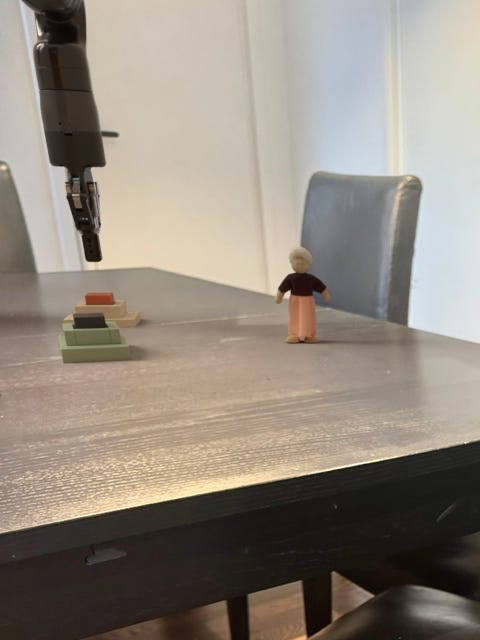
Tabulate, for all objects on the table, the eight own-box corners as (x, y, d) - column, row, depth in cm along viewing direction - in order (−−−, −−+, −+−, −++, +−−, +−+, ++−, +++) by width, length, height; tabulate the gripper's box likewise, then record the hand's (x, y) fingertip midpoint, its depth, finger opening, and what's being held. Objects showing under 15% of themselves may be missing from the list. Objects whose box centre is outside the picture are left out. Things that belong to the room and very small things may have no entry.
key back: (86, 307, 137) (84, 295, 136) (90, 304, 140) (88, 292, 140) (111, 307, 138) (109, 295, 137) (114, 304, 141) (113, 292, 140)
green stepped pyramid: (59, 348, 122) (55, 320, 120) (123, 345, 125) (119, 318, 123) (63, 363, 113) (58, 333, 111) (131, 359, 116) (127, 331, 114)
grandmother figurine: (282, 344, 128) (275, 247, 122) (276, 340, 131) (269, 244, 125) (335, 342, 131) (331, 246, 125) (328, 338, 134) (323, 244, 128)
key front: (74, 327, 118) (72, 313, 117) (104, 326, 119) (102, 312, 119) (76, 332, 115) (74, 317, 114) (106, 330, 116) (104, 316, 116)
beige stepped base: (64, 328, 136) (60, 306, 135) (73, 320, 143) (70, 299, 141) (134, 327, 138) (131, 306, 136) (140, 319, 145) (137, 299, 143)
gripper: (53, 129, 133) (75, 257, 141) (33, 126, 122) (59, 266, 130) (107, 131, 135) (126, 257, 143) (93, 128, 123) (114, 265, 131)
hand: (94, 261), depth 136 cm, fingers closed
